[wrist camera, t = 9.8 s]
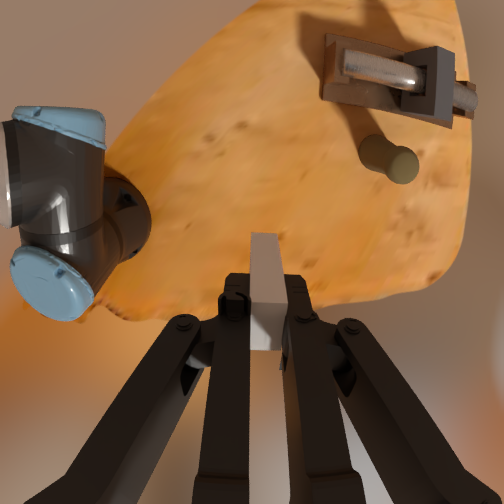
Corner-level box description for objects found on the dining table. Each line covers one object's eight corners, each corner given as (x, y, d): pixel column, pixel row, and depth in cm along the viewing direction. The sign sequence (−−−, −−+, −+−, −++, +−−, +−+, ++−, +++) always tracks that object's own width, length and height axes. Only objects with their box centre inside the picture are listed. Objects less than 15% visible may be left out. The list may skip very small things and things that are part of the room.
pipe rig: (321, 100, 39) (337, 99, 31) (325, 34, 34) (340, 20, 26) (449, 128, 39) (479, 136, 32) (453, 71, 34) (484, 71, 26)
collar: (400, 111, 38) (433, 116, 29) (403, 53, 33) (437, 45, 24) (415, 115, 38) (451, 121, 29) (419, 58, 33) (454, 53, 24)
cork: (363, 129, 41) (393, 139, 31) (395, 140, 41) (430, 153, 32) (354, 165, 44) (381, 184, 34) (386, 174, 44) (418, 195, 34)
